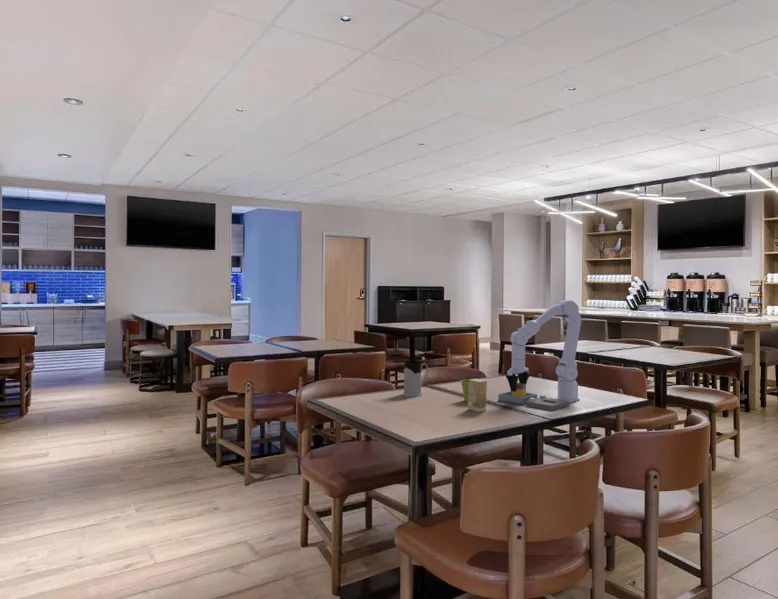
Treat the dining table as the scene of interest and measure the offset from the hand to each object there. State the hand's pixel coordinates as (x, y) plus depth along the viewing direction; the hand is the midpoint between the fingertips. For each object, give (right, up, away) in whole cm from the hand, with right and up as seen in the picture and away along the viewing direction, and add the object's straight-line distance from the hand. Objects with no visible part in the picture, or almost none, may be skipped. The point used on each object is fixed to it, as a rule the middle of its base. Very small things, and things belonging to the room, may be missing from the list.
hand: (517, 390), depth 238 cm
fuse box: (+10, -5, -10) cm, 15 cm away
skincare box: (-21, -5, -19) cm, 28 cm away
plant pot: (-20, -5, -1) cm, 21 cm away
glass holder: (-43, -4, +14) cm, 46 cm away
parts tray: (0, -5, 0) cm, 5 cm away
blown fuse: (0, -4, 0) cm, 4 cm away
